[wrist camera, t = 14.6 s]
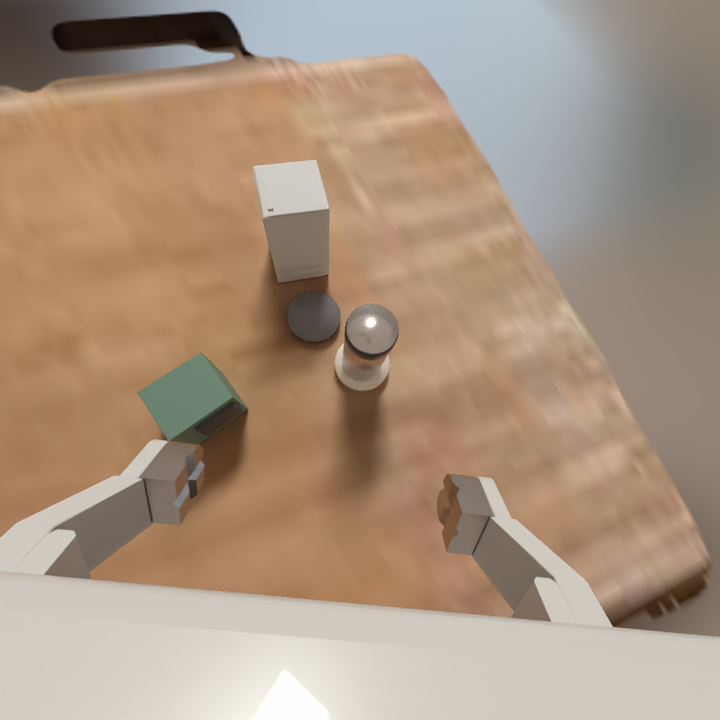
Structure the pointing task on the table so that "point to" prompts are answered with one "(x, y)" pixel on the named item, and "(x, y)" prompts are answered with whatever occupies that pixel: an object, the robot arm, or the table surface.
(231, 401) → the block
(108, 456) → the table surface
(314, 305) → the disc
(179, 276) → the table surface
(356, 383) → the cream dome cap
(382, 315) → the grey-lidded jar
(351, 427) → the table surface
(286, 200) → the supplement box
